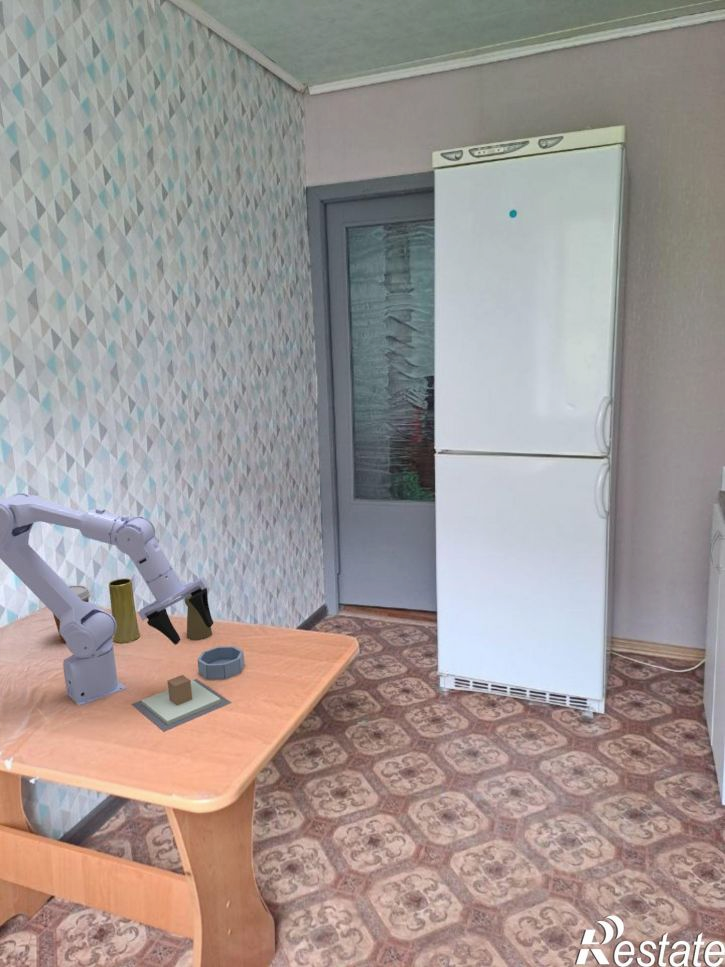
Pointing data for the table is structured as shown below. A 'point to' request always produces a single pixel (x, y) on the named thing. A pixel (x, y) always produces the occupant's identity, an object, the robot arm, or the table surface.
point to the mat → (165, 727)
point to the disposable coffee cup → (82, 594)
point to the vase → (123, 610)
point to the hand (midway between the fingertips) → (194, 633)
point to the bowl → (221, 662)
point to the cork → (195, 623)
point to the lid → (180, 700)
